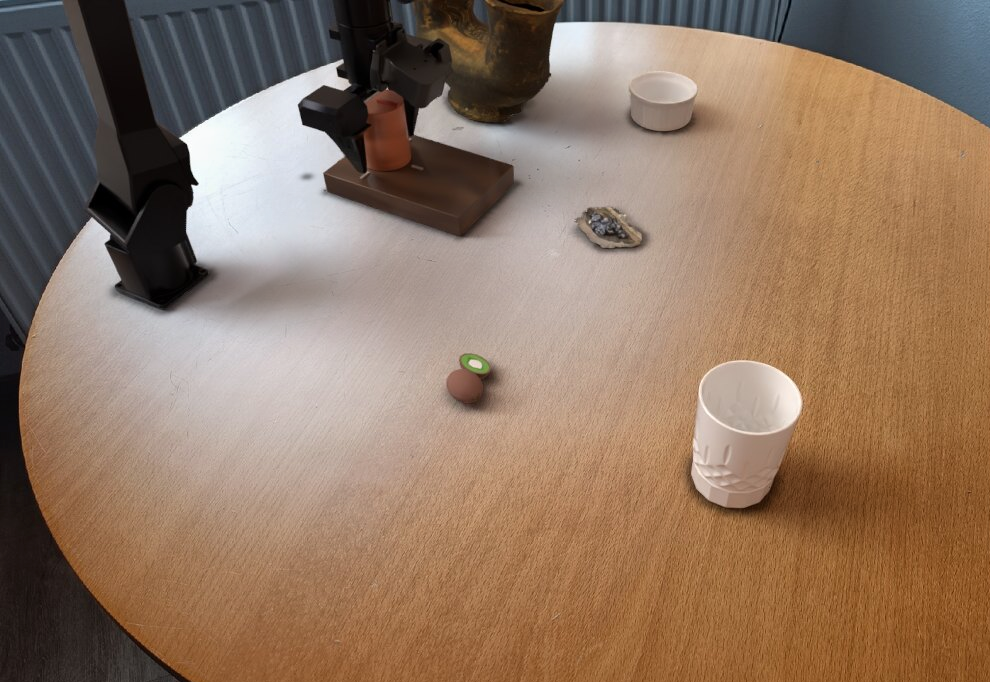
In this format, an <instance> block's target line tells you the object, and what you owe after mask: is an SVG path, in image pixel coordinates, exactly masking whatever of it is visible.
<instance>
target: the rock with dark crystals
mask: <svg viewBox="0 0 990 682" xmlns="http://www.w3.org/2000/svg"><path fill="white" fill-rule="evenodd" d="M626 217H627V213H624V214H622V212H621V211H620V209H618V208H616V207H614V208H613V207H612V206H604V207H603V206H602V207H600V208H599V207H598V206H597V207H593V206H589V207H587V208H586V210H584V211H583V212H582V217H581V216H579V217H576V218H573V219H574V223H575V224H576V223H577V226H578V228H579V229H580V230H581V231H582V232H583V233H586V235H585V236H586V237H588V238H589V240H590V241H591V242H592V243H595V244H597V245H599V246H600V248H602V249H607V248H608V249H615V248H633V247H638V246H639V245H641V242H642V241H643V235H642V233H641V232H639V230H637V229H636V227H634V226H633V227H632V226H630V225H629V224H628V223H631V222H632V220H628V219H627V218H626Z"/></svg>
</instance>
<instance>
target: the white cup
mask: <svg viewBox="0 0 990 682" xmlns="http://www.w3.org/2000/svg"><path fill="white" fill-rule="evenodd" d="M802 410H803V397H802V393H801V391H800V389H799V387H798V386H797V384H796V383H795V381H794V380H793V379H792V378H791V377H790V376H788V375H787V374H786V373H785V372H783V371H782V370H780V369H778V368H776V367H774V366H772V365H769V364H767V363H764V362H761V361H756V360H748V359H747V360H745V359H740V360H739V359H738V360H730V361H726V362H723V363H720V364H718V365H716V366H714V367H713V368H711V369H710V370H709V371H707V372H706V373H705V375H704V376H703V377H702V379H701V381H700V383H699V387H698V393H697V404H696V412H695V420H694V428H693V439H692V440H693V441H692V455H693V456H692V465H691V473H690V474H691V478H692V481H693V484H694V487H695V489H696V490H697V491H698V492H699V493H700V494H701V495H702V496H703V497H704V498H705V499H706V500H707V501H708V502H711V503H713V504H716V505H718V506H721V507H723V508H726V509H727V508H729V509H745V508H748V507H751V506H754V505H756V504H759V503H760V502H761V501H762V500H763V499H764V498H765V496H766V495H767V494H768V493H769V492H770V490H771V487H772V486H773V482H774V479H775V478H776V477H775V476H776V475H777V473H778V471H779V469H780V467H781V465H782V462H783V459H784V457H785V455H786V453H787V450H788V448H789V445H790V442H791V440H792V438H793V434H794V432H795V430H796V426H797V424H798V421H799V419H800V417H801V413H802V412H803V411H802ZM769 487H770V488H769Z"/></svg>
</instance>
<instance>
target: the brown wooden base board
mask: <svg viewBox="0 0 990 682" xmlns="http://www.w3.org/2000/svg"><path fill="white" fill-rule="evenodd" d="M409 143H410V150H411V160H410V162H409V163H408V164H407V165H405V166H404V167H402V168H399V169H396V170H392V171H377V170H373V169H370V168H368V167H367V172H366V173H365V174H363V173H359V172H358V171H357V170H356V169H355V168H354V167H353V165H352V164H351V163H350V161H349V160H348V159H347V158H346V156H345V155H344V156H343V157H342V158H341V159H340V160H338V161H337V162H335V163H334V164H333V165H332V166H330V167H329V168H328V169H326V170H325V171H324V172H323V173H322V175H323V180H324V183H325V189H326V192H327V193H330V194H333V195H336V196H339V197H342V198H345V199H348V200H351V201H354V202H356V203H360V204H363V205H365V206H368V207H371V208H374V209H377V210H381V211H383V212H387V213H389V214H392V215H395V216H398V217H401V218H404V219H407V220H410V221H413V222H416V223H419V224H422V225H425V226H427V227H428V226H429V227H431V228H434V229H436V230H440V231H443V232H446V233H449V234H452V235H454V236H458V237H462V236H463V235H464V234H465V233H466V232H467V231H468V230H469V229H470V228H471V227H472V226H473V225H474V224H475V223H476V222H477V221H478V220H479V219H480V218H481V217H483V215H484V214H485V213H486V212H487V211H488V210H489V209H490V208H491V207H492V206H493V205H495V204H496V202H498V201H499V200H500V199H501V198H502V196H503V195H505V193H507V192H508V191H509V189H511V188H512V187H513V186H514V185H515V166H514V164H511V163H508V162H504V161H502V160H498V159H495V158H492V157H488V156H485V155H481V154H479V153H475V152H471V151H469V150H465V149H463V148H458V147H456V146H452V145H449V144H445V143H442V142H439V141H436V140H432V139H429V138H426V137H422V136H419V135H417V134H414V135H413V136H412V137H410V136H409Z"/></svg>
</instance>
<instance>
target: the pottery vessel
mask: <svg viewBox="0 0 990 682" xmlns="http://www.w3.org/2000/svg"><path fill="white" fill-rule="evenodd" d="M483 2H484V5H485V9H486V13H487V18H488V23H487V22H484V21H482V20H481V19H479V18H478V17H477V15H476V14H475V11H474V10H475V9H474V8H475V0H417V1H414V2H412V3H411V4H412V10H413V13H414V18H415V21H416V31H415V32H416V35H415V37H419V38H423V39H427V40H430V41H435V40H436V39H437V38H440V39H442V40H443V41H445V42H446V43H448V44H449V46H450V52H451V57H452V66H451V68H452V69H453V71H454V73H453V75H452V76H450V77H449V78H447V79H446V81H445V85H447V86H448V87H449V90H448V93H447V101H448V103H449V105H450V107H451V108H452V109H453V110H454V111H455V112H456V113H457V114H460V115H461V116H464V117H465V118H467V119H468V120H473V121H477V122H486V123H497V124H498V123H499V124H501V123H505V122H507V121H508V120H509V119H510V118H511V116H515V115H519V114H521V113H522V112H523V103H524V102H525V103H528V101H530V100H532V99H534V98H535V97H536V96H537V95H538V94H539V93H540V92H541V90H543V89H544V87H545V85H546V84H547V83H549V80H550V78H551V77H552V73H551V69H550V68H551V62H550V55H551V47H552V41H553V35H554V30H555V25H556V22H557V19H558V16H559V14H560V11H561V10H562V7H563V5H564V3H565V0H483Z"/></svg>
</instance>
